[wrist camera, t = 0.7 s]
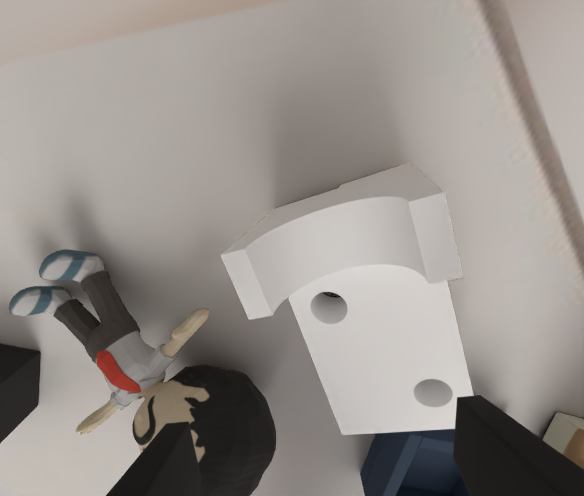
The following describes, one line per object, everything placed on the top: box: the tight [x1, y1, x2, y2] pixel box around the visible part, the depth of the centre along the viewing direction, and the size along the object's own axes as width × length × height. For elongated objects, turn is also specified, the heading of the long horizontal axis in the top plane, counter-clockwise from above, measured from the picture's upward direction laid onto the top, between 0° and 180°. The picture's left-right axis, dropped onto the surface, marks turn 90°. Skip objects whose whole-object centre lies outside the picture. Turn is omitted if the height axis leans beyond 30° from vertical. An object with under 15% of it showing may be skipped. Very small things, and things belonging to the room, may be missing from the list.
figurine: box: [9, 250, 276, 496], centre depth 17 cm, size 10×7×15 cm
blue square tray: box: [360, 429, 470, 496], centre depth 20 cm, size 7×8×3 cm
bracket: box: [220, 162, 474, 435], centre depth 15 cm, size 13×7×8 cm, turn 20°
